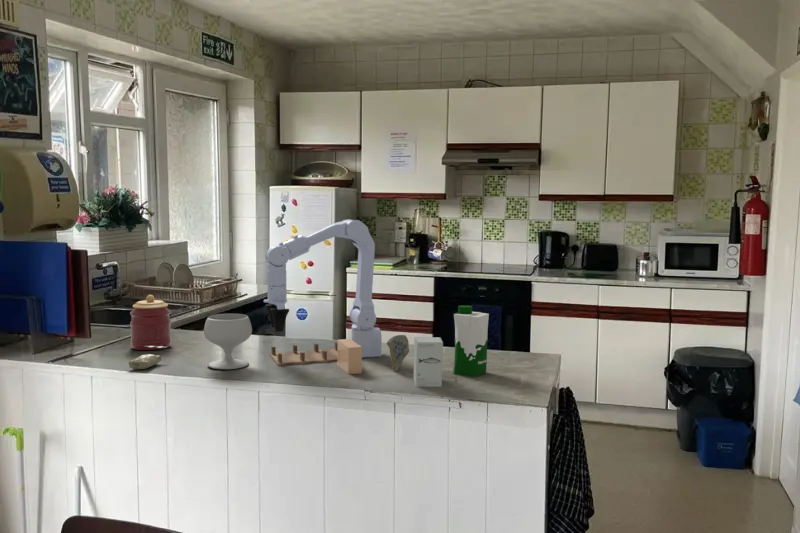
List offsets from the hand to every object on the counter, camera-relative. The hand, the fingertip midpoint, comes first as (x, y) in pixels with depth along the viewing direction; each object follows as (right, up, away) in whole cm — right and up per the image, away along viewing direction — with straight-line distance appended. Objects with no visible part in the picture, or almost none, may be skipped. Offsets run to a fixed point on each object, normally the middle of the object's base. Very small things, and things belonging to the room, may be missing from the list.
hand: (277, 329), depth 213 cm
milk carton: (+59, -13, -11) cm, 61 cm away
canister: (-46, -8, +20) cm, 51 cm away
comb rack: (+9, -10, +7) cm, 15 cm away
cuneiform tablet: (-37, -8, 0) cm, 38 cm away
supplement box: (+46, -13, -22) cm, 52 cm away
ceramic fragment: (+37, -12, -6) cm, 40 cm away
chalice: (-14, -11, -5) cm, 18 cm away
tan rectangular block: (+23, -11, -7) cm, 26 cm away
